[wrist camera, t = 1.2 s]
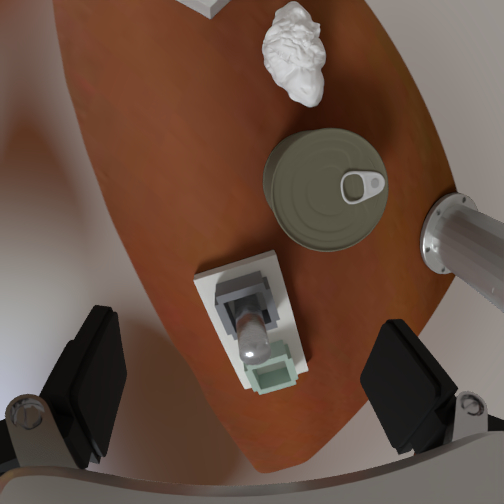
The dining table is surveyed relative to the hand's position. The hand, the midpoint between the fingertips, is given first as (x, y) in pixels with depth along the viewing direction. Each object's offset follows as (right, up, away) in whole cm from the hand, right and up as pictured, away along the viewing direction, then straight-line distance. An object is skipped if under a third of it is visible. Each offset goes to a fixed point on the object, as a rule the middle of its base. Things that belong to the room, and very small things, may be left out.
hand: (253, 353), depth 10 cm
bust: (+4, +24, +18) cm, 30 cm away
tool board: (+1, -7, +30) cm, 31 cm away
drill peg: (-1, -2, +26) cm, 27 cm away
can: (+7, +12, +24) cm, 27 cm away
